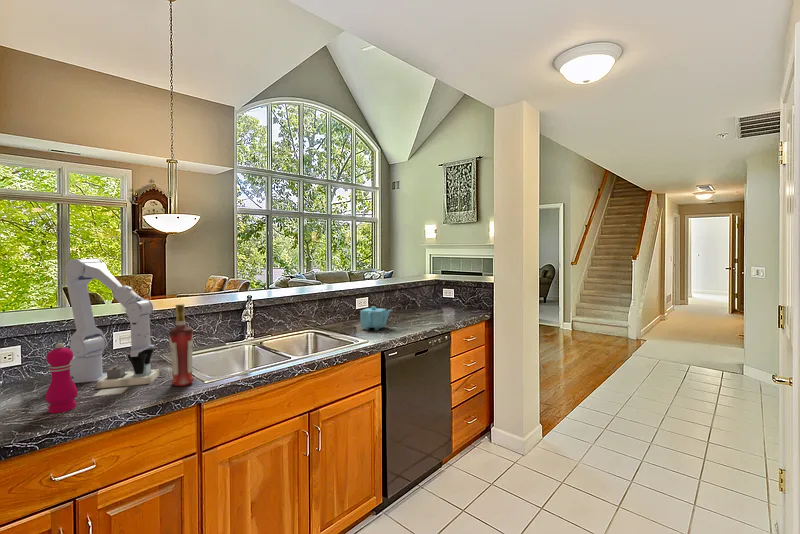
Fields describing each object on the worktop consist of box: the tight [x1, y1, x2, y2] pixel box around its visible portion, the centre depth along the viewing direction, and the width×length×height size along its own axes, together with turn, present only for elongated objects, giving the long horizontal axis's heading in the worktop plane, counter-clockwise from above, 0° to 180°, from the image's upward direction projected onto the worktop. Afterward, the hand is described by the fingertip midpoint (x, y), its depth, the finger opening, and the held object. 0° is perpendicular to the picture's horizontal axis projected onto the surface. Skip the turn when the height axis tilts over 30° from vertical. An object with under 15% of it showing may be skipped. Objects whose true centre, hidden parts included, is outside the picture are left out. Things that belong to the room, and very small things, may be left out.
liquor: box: [168, 303, 195, 388], centre depth 136 cm, size 7×7×28 cm
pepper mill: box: [45, 342, 79, 414], centre depth 115 cm, size 7×7×20 cm
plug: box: [133, 363, 152, 377], centre depth 141 cm, size 4×4×6 cm
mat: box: [93, 386, 129, 397], centre depth 129 cm, size 8×6×1 cm
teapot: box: [360, 305, 393, 331], centre depth 228 cm, size 18×16×13 cm
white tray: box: [96, 364, 160, 389], centre depth 139 cm, size 16×10×6 cm, turn 107°
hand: (142, 371), depth 140 cm, fingers open, 5 cm apart
